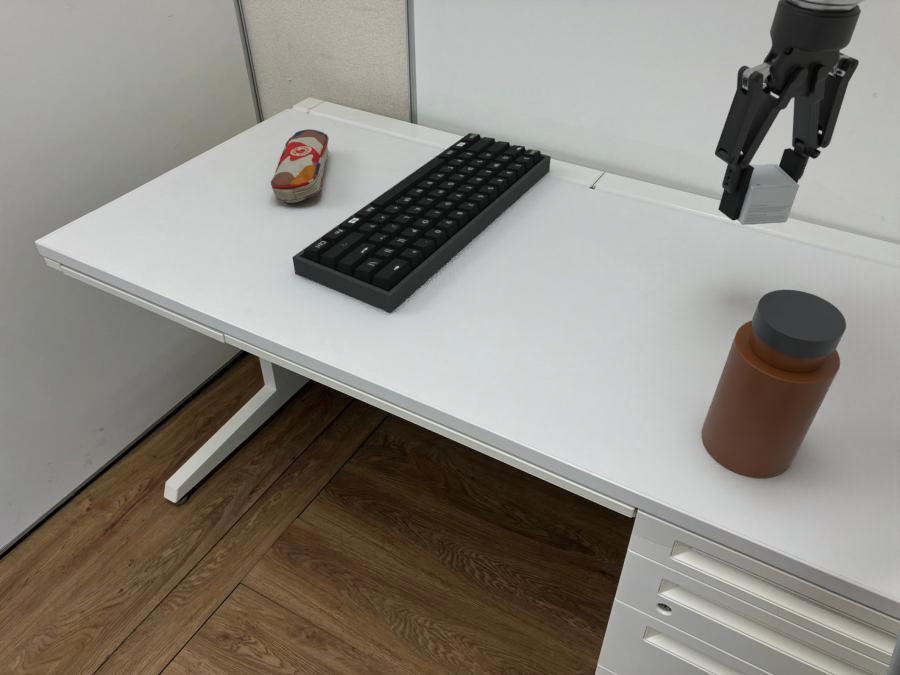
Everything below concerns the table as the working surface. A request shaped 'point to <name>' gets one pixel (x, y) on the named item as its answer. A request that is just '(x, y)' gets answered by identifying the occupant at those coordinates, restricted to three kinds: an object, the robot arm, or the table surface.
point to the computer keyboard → (421, 221)
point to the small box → (768, 196)
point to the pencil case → (301, 166)
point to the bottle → (773, 383)
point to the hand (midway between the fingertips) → (753, 208)
